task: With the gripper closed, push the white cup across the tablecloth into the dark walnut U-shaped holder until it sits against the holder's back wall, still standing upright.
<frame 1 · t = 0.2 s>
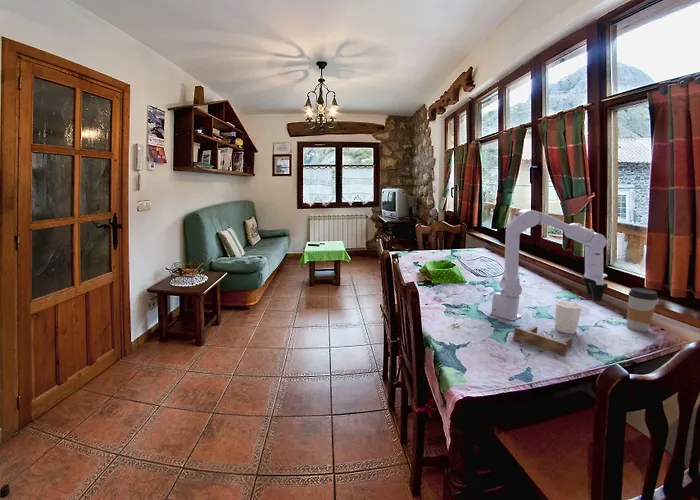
hand: (594, 297, 130), 10 cm above the table, tool pointing down, fingers open, 7 cm apart
coffee cup: (636, 329, 127), on the table
white cup: (565, 330, 125), on the table
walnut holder: (545, 342, 115), on the table
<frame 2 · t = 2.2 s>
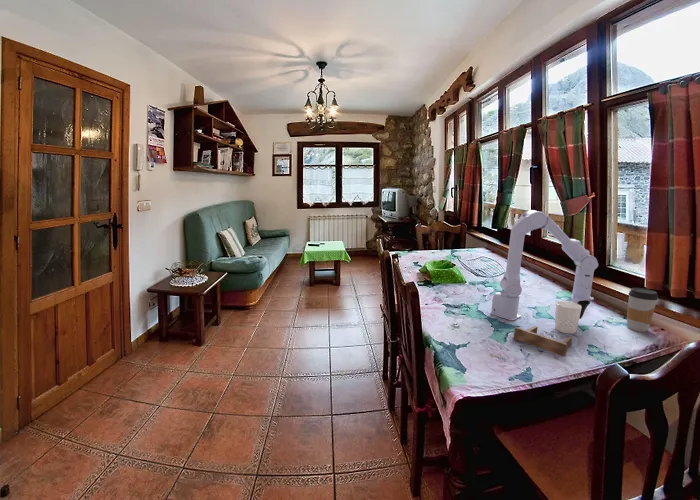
hand: (577, 317, 132), 2 cm above the table, tool pointing down, fingers closed
nothing on the table moved.
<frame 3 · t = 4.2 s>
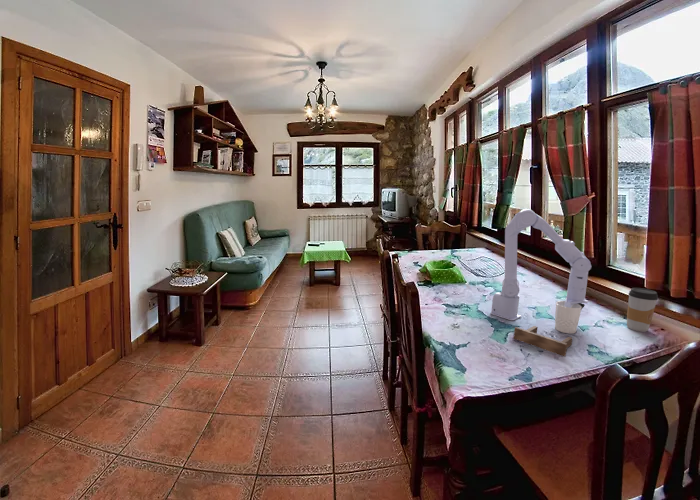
hand: (572, 321, 128), 2 cm above the table, tool pointing down, fingers closed
white cup: (565, 330, 125), on the table, touching gripper
everything else where it was.
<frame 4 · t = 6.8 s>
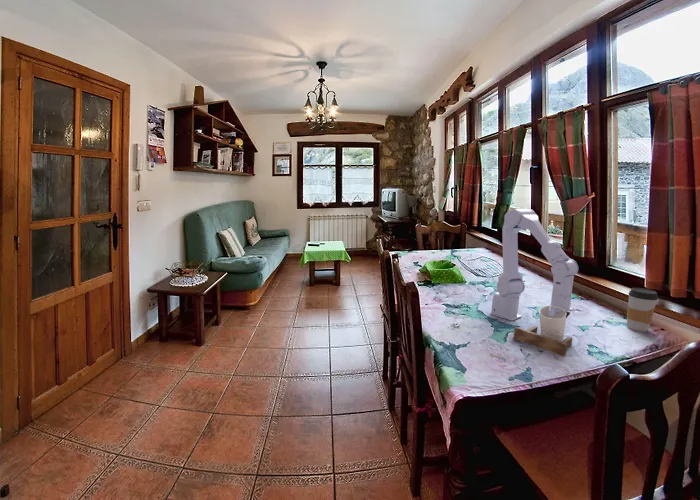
hand: (557, 330, 119), 2 cm above the table, tool pointing down, fingers closed, pressing on white cup
white cup: (552, 336, 118), point 1 cm above the table, touching gripper
everything else where it was.
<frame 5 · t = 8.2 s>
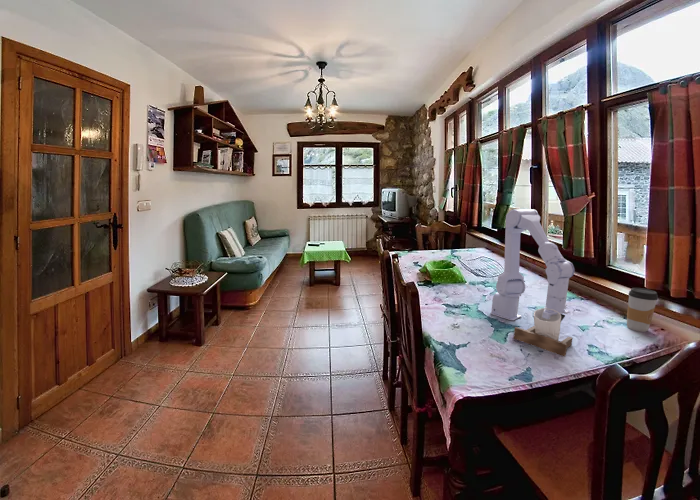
hand: (551, 333, 117), 2 cm above the table, tool pointing down, fingers closed, pressing on white cup
white cup: (547, 339, 115), point 1 cm above the table, touching gripper
everything else where it was.
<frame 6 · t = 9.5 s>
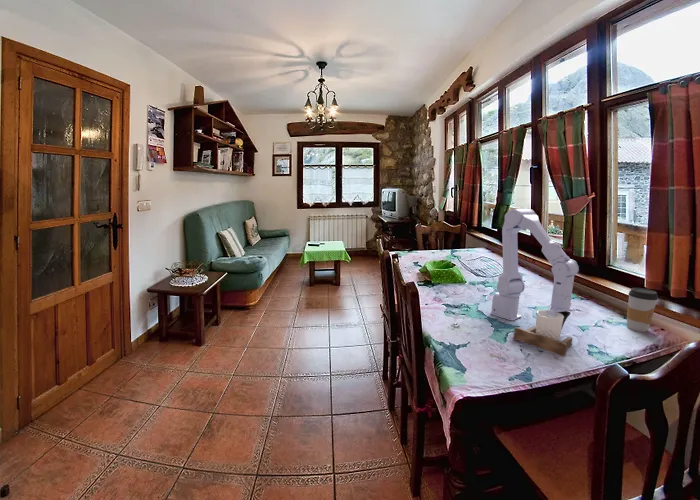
hand: (556, 330, 120), 2 cm above the table, tool pointing down, fingers closed
white cup: (546, 342, 115), on the table
everything else where it was.
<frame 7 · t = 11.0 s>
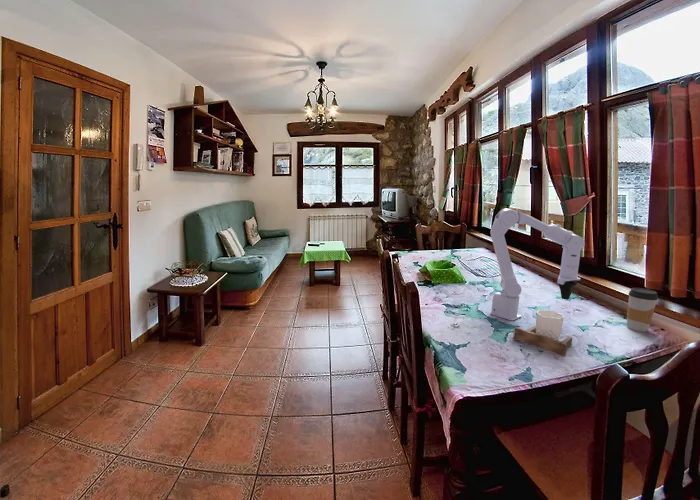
hand: (565, 299, 131), 9 cm above the table, tool pointing down, fingers closed
nothing on the table moved.
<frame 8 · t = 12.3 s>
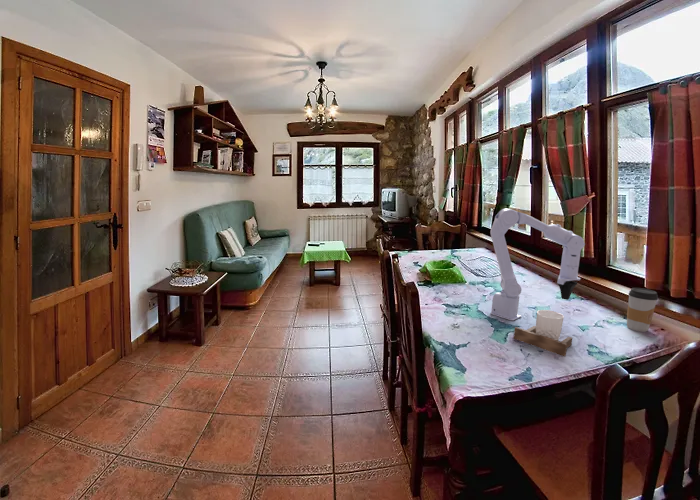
hand: (565, 299, 131), 9 cm above the table, tool pointing down, fingers closed
nothing on the table moved.
at the end: white cup 1.8 cm from the target spot on the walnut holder, point 0.0 cm above the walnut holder's base; white cup tilted 0°; white cup moved 16.2 cm from its start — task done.
